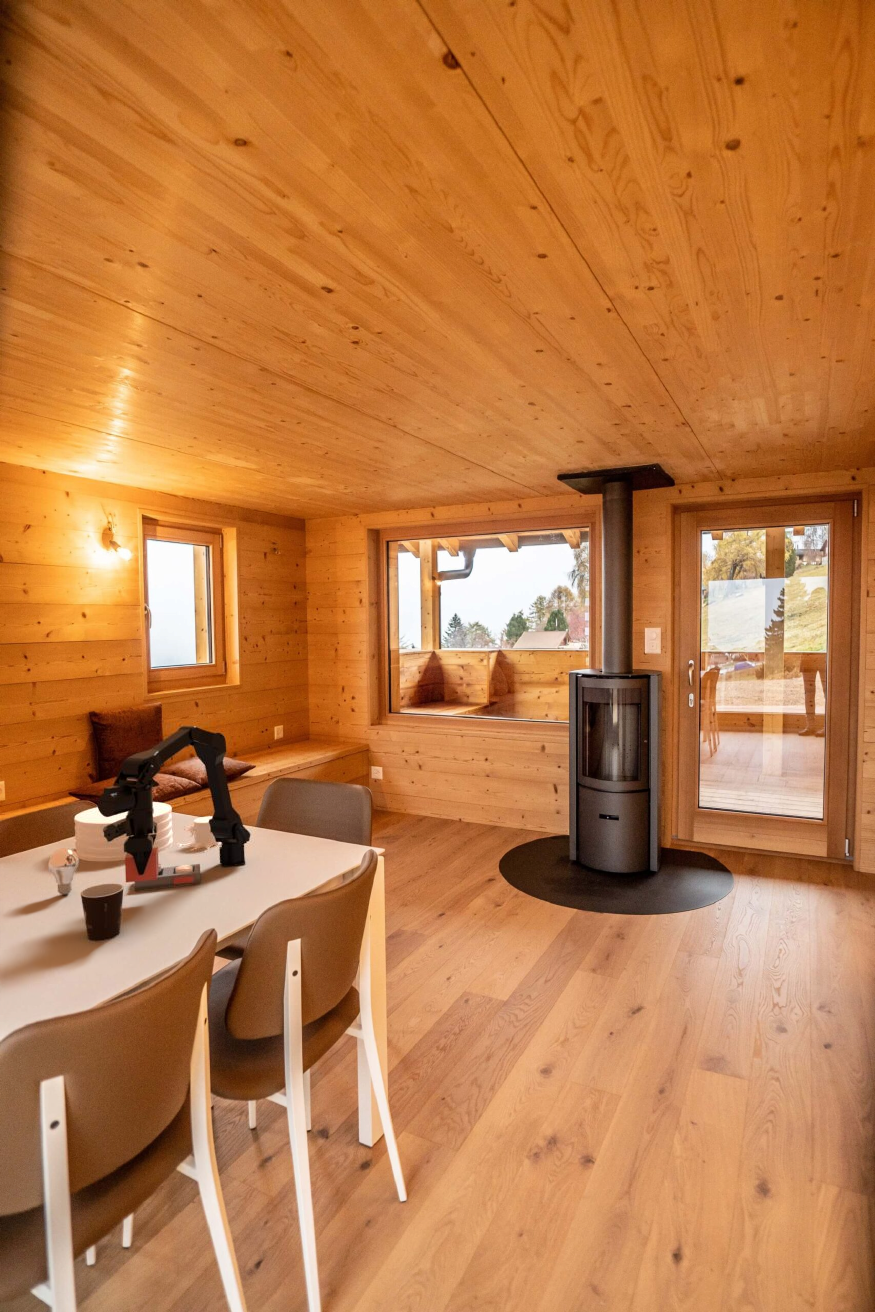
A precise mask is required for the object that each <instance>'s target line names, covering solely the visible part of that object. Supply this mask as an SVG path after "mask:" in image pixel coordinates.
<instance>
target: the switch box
mask: <svg viewBox="0 0 875 1312" xmlns="http://www.w3.org/2000/svg"><path fill="white" fill-rule="evenodd" d="M190 865H191V866H193V872H187V873H178V874H175V868H176V867H179V866H180V865H176V866H168V867H167V866H166V867H161V874H159V875H158V876H157V879H154V880H145V881H136V882H134V892H138V891H139V892H140V891H150V890H157V889H158V890H159V889H164V888H165V889H166V888H176V887H182V886H183V887H185V886H192V885H200V884H201V883H200V882H201V863H195V864H190Z"/></svg>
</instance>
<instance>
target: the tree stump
mask: <svg viewBox="0 0 875 1312" xmlns="http://www.w3.org/2000/svg"><path fill="white" fill-rule="evenodd" d="M212 817H213V815H212V816H209V815H208V816H203V817H202V816H201V817H198V818H195V819H194V820H193V826H192V825H191V826H190V825H184V827H186V828H188V829H186V828H183V829H184V831H186V832H190V833H191V835H190V836H189V837H190V838H191V837H193V835H194V837H193V838H194V839H193V840H194V841H190V842H188V843H185V844H184V843H178V844H179V845H178V846H179V848H181V847H182V845H185V846H186V847H185V849H188V848H189V847H190V848H191V849H190V850H191V851H195V850H198V849H201V848H200V847H202V848H205V847H206V848H209V847H211V846H213V845H218V844H221V842H216V841H215V837H214V835H213V833H211V832H210V825H209V819H212ZM213 847H214V846H213ZM197 848H198V849H197ZM206 848H205V849H206ZM211 848H212V847H211ZM194 849H195V850H194Z"/></svg>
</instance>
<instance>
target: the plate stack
mask: <svg viewBox="0 0 875 1312" xmlns="http://www.w3.org/2000/svg"><path fill="white" fill-rule="evenodd" d="M153 808H154V813H153V821H155V822H156V823H157V833H154V831H153V833H152V834H156V838H155V841H154V844H153V848H154V847H158V853H161V852H163V851H165V850H167V849H169V848H170V847H171V846H172V845H173V843H174V842H173V830H172V829H173V823H172V820H173V815H172V809H173V808H172V806H171V805H170V804H167V803H164V802H158V801H153ZM127 813H128V812H124V813H121V814H117V815H114V816H110V817H105V816H103V815H102V814H101V813H100V812H99V809H98V806H96V807H93V808H89V809H87V810H86V809H85V810H83V811H81V812H79V813H77V814H76V815H74V818H73V819H74V823H75V824H74V832H75V833H74V840H75V842H74V843H75V845H74V846H75V852H76V854H77V855H78V858H79V860H84V861H89V862H119V861H125V857H126V854H127V852H124V842H125V840H126V839H127V838H128V837H129V836H126V834H124V835H122V836H120V837H117V838H115V839H113V840H112V841H110V842H108V841H107V839H106V838H105V837H104V832H103V829H104V827H105V826H107V825H109V824H112V823H113V822H116V821H119V820H121V819H124V818H126V815H127ZM132 836H133V835H132Z"/></svg>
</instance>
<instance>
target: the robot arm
mask: <svg viewBox="0 0 875 1312" xmlns="http://www.w3.org/2000/svg"><path fill="white" fill-rule="evenodd" d="M226 741H227V740H226V736H225V735H224V734H222V733H221V732H214V731H213V732H212V731H209V730H205V729H202V728H200V727H198V726H195V725H194V726H193V725H183V726H180V727H179V728H178V729H177V731H175V732H173V733H172V734H171V735H170V736H168V737H166V738H165V739H163V740H161V741H160V742H159V743H157V744H156V745H154V746H153V747H152V748H150V749H148V750H145V751H141V752H137V753H134V754H132V755H131V756H128V757H126V758H125V759H124V760H123V762H122V766H121V768H120V770H119V772H118V774H117V776H116V778H115V780H114V782H113V784H112V786H107V787H104V788H103V793H101V795H100V796H99V797H98V800H97V802H96V803H97V804H96V805H97V807H98V809H99V812H100V813H101V814H102V815H103V816H105V817H110V816H114V815H117V814H121V813H124V812H128V813H127V815H126V818H124V819H121V820H119V821H116V822H113V823H112V824H109V825H107V826H105V827H104V829H103V832H104V837H105V838H106V839H107V841H108V842H110V841H112V840H113V839H115V838H117V837H120V836H122V835H124V834H126V836H129V837H128V838H127V839H126V840H125V842H124V852H127V853H129V854H131V855H132V856H133V858H134V861H135V864H136V867H137V871H138V874H139V875H143V874H144V872H145V869H146V866H147V863H148V860H149V857H150V855H151V852H152V849H153V844H154V841H155V838H156V834H152V833H153V831H154V833H157V823H156V822H155V821H153V813H154V808H153V802H154V800H153V788H156V787H159V786H160V783H159V782H158V781H156V780H155V779H154V777H156V776H157V774H158V773H160V771H161V769H162V767H163V764H165V762H167V761H168V760H170V759H171V758H172V757H174V756H175V755H176V754H178V753H179V752H181V751H182V750H183V749H185V748H187V747H188V746H190V747H193V748H194V752H195V755H196V756H197V758H198V759H199V760H200V762H202V764H203V765H204V768H205V772H206V777H207V783H208V787H209V792H210V796H211V801H212V805H213V810H214V812H213V814H212V816H213V817H212V819H209V825H210V832H211V833H213V835H214V837H215V841H216V842H221V845H220V846H219V863H220V864H221V867H222V868H223V867H232V866H241V865H246V858H245V844H247V842H250V839H251V833H250V831H249V830H248V829H247V828H246V827H245V826H244V824H243V821H242V819H241V815H240V814H239V813H238V811H236V809H235V808H234V807H233V803H232V797H231V794H230V789H229V784H228V780H227V775H226V770H225V766H224V759H225V756H226V753H227V742H226ZM132 835H133V836H132Z"/></svg>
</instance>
